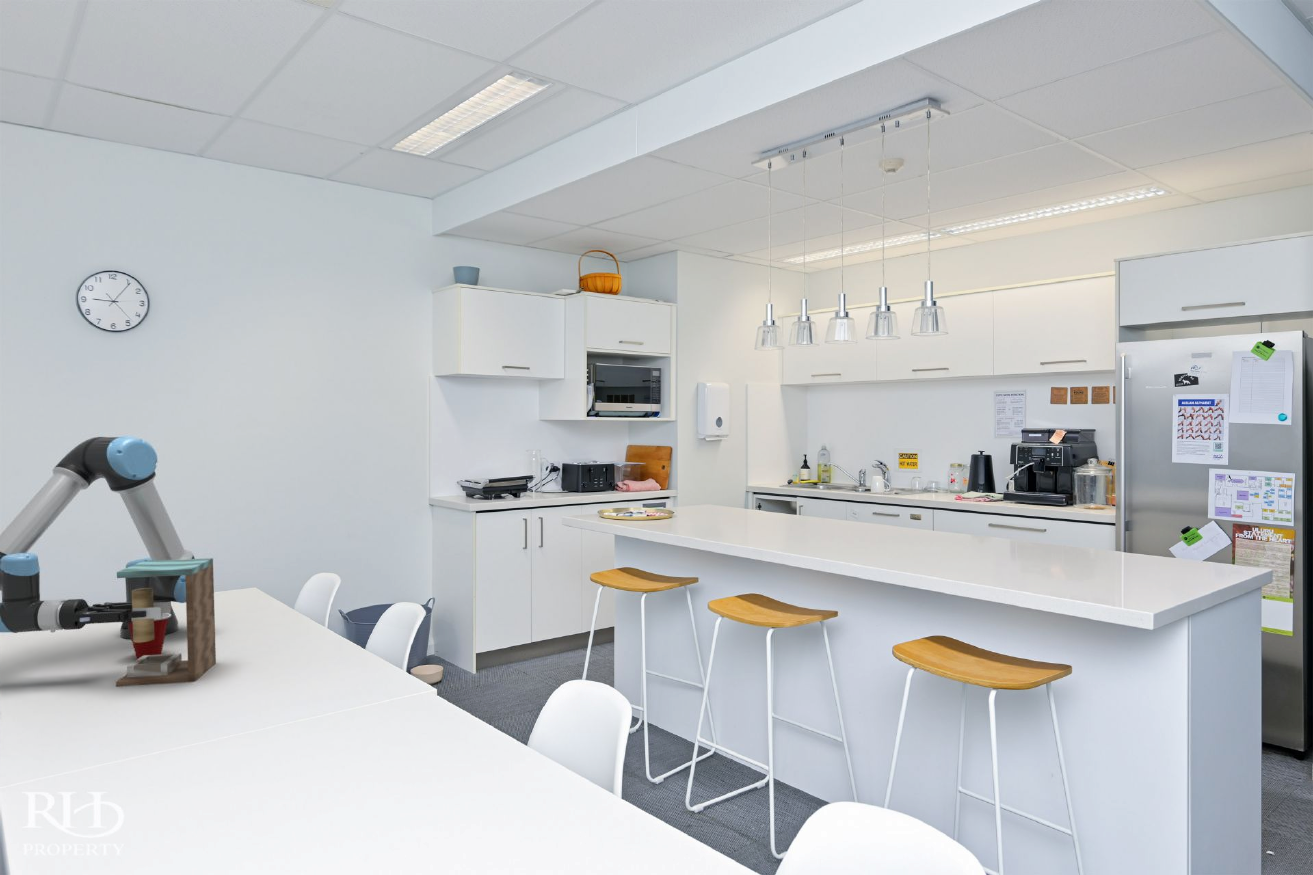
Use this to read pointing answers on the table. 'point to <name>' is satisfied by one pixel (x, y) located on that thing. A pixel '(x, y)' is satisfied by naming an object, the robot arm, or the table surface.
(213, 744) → the table surface
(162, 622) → the plastic cup
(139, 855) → the table surface
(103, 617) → the robot arm
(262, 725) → the table surface
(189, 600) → the awning stand
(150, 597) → the peg
